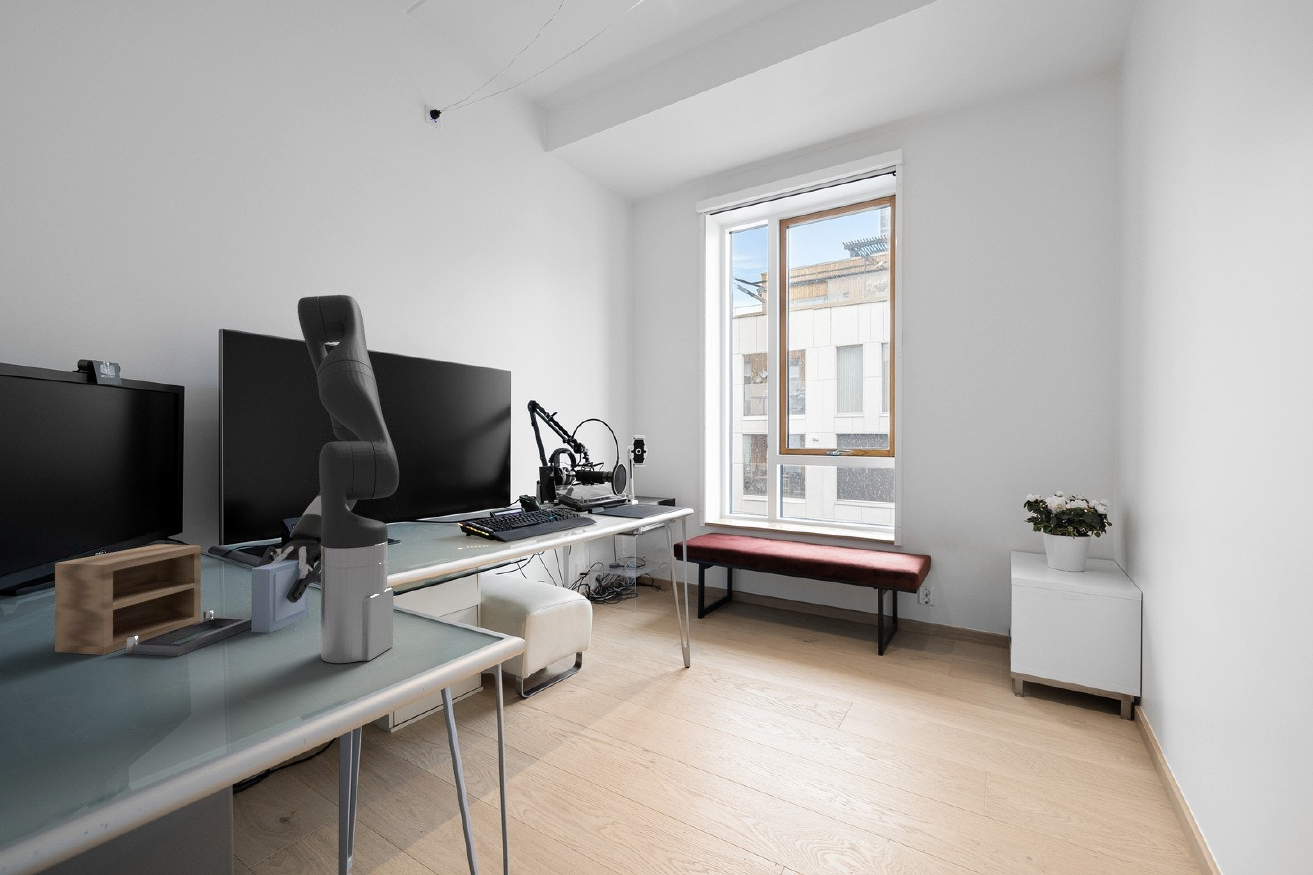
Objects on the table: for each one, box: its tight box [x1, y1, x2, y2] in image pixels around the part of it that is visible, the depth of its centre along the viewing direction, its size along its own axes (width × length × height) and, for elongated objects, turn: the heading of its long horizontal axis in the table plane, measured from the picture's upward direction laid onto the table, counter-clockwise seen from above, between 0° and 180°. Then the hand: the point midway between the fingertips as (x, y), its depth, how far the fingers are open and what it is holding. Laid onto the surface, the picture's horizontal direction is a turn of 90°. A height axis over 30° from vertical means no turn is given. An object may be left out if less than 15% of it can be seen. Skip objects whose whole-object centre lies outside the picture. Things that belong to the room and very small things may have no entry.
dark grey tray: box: [125, 609, 252, 657], centre depth 94 cm, size 10×14×2 cm, turn 173°
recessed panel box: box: [251, 560, 309, 634], centre depth 102 cm, size 4×9×11 cm, turn 173°
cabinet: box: [54, 543, 202, 656], centre depth 96 cm, size 9×16×14 cm, turn 173°
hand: (273, 599), depth 100 cm, fingers open, 6 cm apart
